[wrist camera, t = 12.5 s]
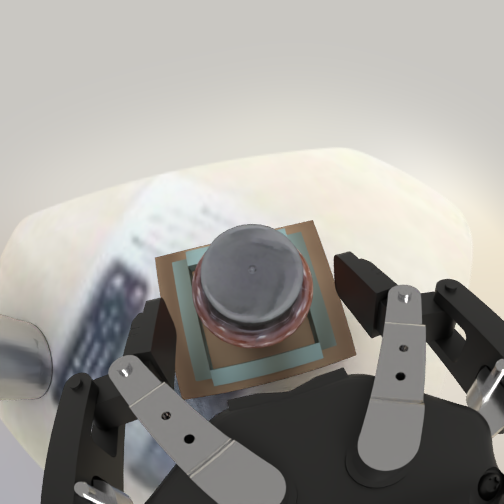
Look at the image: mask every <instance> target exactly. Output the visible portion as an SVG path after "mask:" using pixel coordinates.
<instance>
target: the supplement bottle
mask: <svg viewBox="0 0 504 504" xmlns="http://www.w3.org/2000/svg"><path fill="white" fill-rule="evenodd" d="M192 297H193V303H194V307H195V309H196V312H197V314H198V316H199V318H200V319H201V321H202V323H203V324H204V325H205V326H206V327H207V328H208V330H209V331H210V332H211V333H212V334H214V335H215V336H216V337H218V338H219V339H221V340H222V341H224V342H226V343H228V344H231V345H234V346H237V347H242V348H250V349H254V348H263V347H267V346H271V345H274V344H277V343H279V342H281V341H283V340H284V339H286V338H288V337H289V336H290V335H292V334H293V333H294V332H295V331H296V330H297V329H298V328H299V327H300V325H301V324H302V323H303V321H304V319H305V318H306V316H307V314H308V312H309V309H310V306H311V303H312V298H313V280H312V275H311V272H310V268H309V266H308V264H307V262H306V260H305V258H304V257H303V255H302V254H301V253H300V252H299V250H298V249H297V248H296V247H295V246H294V244H293V243H292V242H291V241H290V240H289V239H288V238H287V237H286V236H285V235H283V234H282V233H281V232H279V231H277V230H275V229H273V228H271V227H268V226H264V225H257V224H247V225H241V226H236V227H234V228H231V229H229V230H227V231H225V232H223V233H222V234H220V235H219V236H218V237H217V238H216V239H215V240H214V241H213V242H212V243H211V244H210V246H209V247H208V249H207V251H206V252H205V253H204V254H203V256H202V257H201V259H200V260H199V262H198V264H197V266H196V269H195V271H194V276H193V279H192Z"/></svg>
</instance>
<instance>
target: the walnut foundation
mask: <svg viewBox="0 0 504 504" xmlns="http://www.w3.org/2000/svg"><path fill="white" fill-rule="evenodd" d="M275 230H277V231H279V232H281V233H282V234H283V235H285V236H286V237H287V238H288V239H289V240H290V241H291V242H292V243H293V244H294V246H295V247H296V248H297V249H298V250H299V252H300V253H301V254H302V255H303V257H304V258H305V260H306V262H307V264H308V266H309V268H310V272H311V275H312V280H313V298H312V303H311V306H310V309H309V312H308V314H307V316H306V318H305V319H304V321H303V323H302V324H301V325H300V327H299V328H298V329H297V330H296V331H295V332H294V333H293V334H292V335H290V336H289V337H288V338H286V339H284V340H283V341H281V342H279V343H277V344H274V345H271V346H267V347H263V348H254V349H250V348H242V347H237V346H234V345H231V344H228V343H226V342H224V341H222V340H221V339H219V338H218V337H216V336H215V335H214V334H212V333H211V332H210V331H209V330H208V328H207V327H206V326H205V325H204V324H203V323H202V321H201V319H200V318H199V316H198V314H197V312H196V309H195V307H194V303H193V297H192V279H193V276H194V271H195V269H196V266H197V264H198V262H199V260H200V259H201V257H202V256H203V254H204V253H205V252H206V251H207V249H208V247H209V246H210V244H209V245H204V246H200V247H196V248H192V249H188V250H184V251H180V252H176V253H172V254H168V255H164V256H160V257H156V258H155V262H156V269H157V277H158V283H159V290H160V296H161V298H163V299H164V301H165V303H166V306H167V308H168V311H169V313H170V315H171V318H172V320H173V322H174V325H175V328H176V333H177V342H176V358H175V372H176V377H177V381H178V385H179V389H180V393H181V396H182V399H183V400H185V399H192V398H198V397H204V396H210V395H216V394H221V393H226V392H231V391H236V390H240V389H245V388H249V387H253V386H258V385H262V384H266V383H270V382H274V381H277V380H281V379H285V378H288V377H292V376H295V375H299V374H302V373H305V372H308V371H312V370H315V369H318V368H321V367H324V366H327V365H330V364H333V363H336V362H339V361H341V360H344V359H347V358H350V357H352V356H355V355H356V351H355V348H354V344H353V340H352V337H351V333H350V330H349V327H348V323H347V320H346V316H345V313H344V310H343V307H342V303H341V300H340V297H339V296H338V294H337V292H336V289H335V282H334V279H333V276H332V273H331V270H330V267H329V264H328V261H327V258H326V255H325V252H324V249H323V247H322V244H321V241H320V238H319V236H318V233H317V230H316V227H315V225H314V222H313V220H311V221H307V222H303V223H298V224H294V225H289V226H285V227H281V228H276V229H275Z"/></svg>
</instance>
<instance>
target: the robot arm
mask: <svg viewBox="0 0 504 504" xmlns="http://www.w3.org/2000/svg"><path fill="white" fill-rule="evenodd" d="M334 280H335V289H336V292H337V294H338V296H339V297H340V299H341V300H342V301H343V302H344V304H345V305H346V306H347V308H348V309H349V310H350V311H351V313H352V314H353V315H354V316H355V318H356V319H357V320H358V322H359V323H360V324H361V325H362V327H363V328H364V329H365V331H366V332H367V333H368V335H369V336H370V337H371V338H374V337H376V336H379V335H381V336H382V337H383V338H382V344H381V349H380V355H379V360H378V365H377V370H376V375H375V376H372V375H365V374H350V375H347V373H346V371H345V369H344V368H340V369H338V370H335V371H332V372H329V373H326V374H323V375H320V376H317V377H315V378H313V379H312V380H310V381H308V382H306V383H305V384H303V385H301V386H299V387H297V388H295V389H294V390H292V391H289V392H280V393H261V394H253V395H249V396H245V397H240V398H235V399H231V400H228V406H229V409H227V410H224V411H222V412H221V413H219V414H217V415H216V416H214V417H213V418H212V419H211V420H209V421H207V420H206V419H205V418H204V417H203V416H201V415H200V414H199V413H198V412H197V411H196V410H194V409H193V408H192V407H191V406H190V405H189V404H188V403H187V402H185V401H184V400H183V399H182V398H181V397H180V396H179V395H178V394H177V393H176V392H175V391H174V379H175V358H176V342H177V333H176V328H175V325H174V322H173V320H172V318H171V315H170V313H169V311H168V308H167V306H166V303H165V301H164V299H163V298H157V299H153V300H148V301H146V304H145V307H144V311H143V313H139V314H138V315H137V316H136V317H135V319H134V320H133V321H132V325H131V328H130V329H131V330H130V332H129V337H128V339H127V342H126V346H125V350H124V354H123V357H120V358H118V359H117V360H116V361H114V362H113V363H112V365H111V366H110V368H109V372H108V375H105V376H103V377H100V378H98V379H95V380H92V378H91V377H90V376H89V375H88V374H86V373H78V374H75V375H73V376H72V377H71V378H69V379H68V381H67V382H66V384H65V386H64V389H63V392H62V395H61V399H60V402H59V406H58V410H57V413H56V417H55V421H54V425H53V429H52V434H51V438H50V443H49V448H48V453H47V458H46V464H45V470H44V478H43V485H42V494H41V504H133V502H132V500H131V498H130V497H129V496H128V495H127V494H125V493H124V489H123V466H124V437H125V424H126V423H129V422H132V421H134V420H137V419H139V421H140V422H141V423H142V424H143V426H144V427H145V428H146V429H147V431H148V432H149V433H150V434H151V436H152V437H153V438H154V439H155V440H156V441H157V443H158V444H159V445H160V446H161V447H162V448H163V449H164V451H165V452H166V453H167V454H168V455H169V456H170V457H171V458H172V459H173V460H174V461H175V462H176V464H175V466H174V467H173V468H172V470H171V471H170V472H169V474H168V475H167V476H166V477H165V479H164V480H163V481H162V483H161V484H160V485H159V486H158V488H157V489H156V490H155V491H154V493H153V494H152V495H151V496H150V497H149V499H148V500H147V501H146V502H145V504H504V474H503V473H502V472H501V471H500V470H499V468H498V466H497V464H496V460H495V457H494V453H493V446H492V438H493V437H494V436H496V435H497V434H503V433H504V321H503V320H502V319H501V318H500V317H499V316H498V315H497V314H496V313H494V312H493V311H492V310H491V309H490V308H489V307H488V306H487V305H485V303H483V302H482V301H481V300H480V299H479V298H478V297H476V296H475V295H474V294H473V293H472V292H471V291H469V290H468V289H467V288H466V287H465V286H463V285H462V284H461V283H460V282H458V281H455V280H452V279H443V280H440V281H439V282H438V283H437V284H436V288H435V292H428V293H420V292H419V290H418V289H416V288H415V287H412V286H409V285H397V284H396V283H395V282H394V281H393V280H391V279H390V278H389V277H388V276H387V275H386V274H384V273H382V271H381V270H380V269H379V268H377V267H376V266H375V265H374V264H373V263H371V262H369V261H367V260H364V259H358V258H357V257H356V256H355V255H354V254H353V253H351V252H345V253H342V254H338V255H335V256H334ZM456 323H457V324H458V325H459V326H460V327H461V328H462V329H463V330H464V331H465V334H466V340H464V338H463V337H462V336H461V335H460V334H459V333H458V332H457V331H456V330H455V329H454V328H455V325H456ZM426 342H427V343H428V344H429V346H430V347H431V348H432V349H433V351H434V352H435V353H436V354H437V356H438V357H439V358H440V360H441V361H442V362H443V363H444V365H445V366H446V367H447V369H448V370H449V371H450V372H451V374H452V375H453V376H454V378H455V379H456V381H457V382H458V383H459V385H460V386H461V387H462V389H463V390H464V391H465V393H466V394H467V396H466V402H467V405H468V407H467V406H463V405H459V404H456V403H453V402H450V401H447V400H443V399H440V398H437V397H434V396H431V395H428V394H425V393H424V382H425V362H426ZM51 375H52V363H51V356H50V351H49V348H48V345H47V342H46V340H45V338H44V336H43V334H42V333H41V331H40V330H39V329H38V328H37V327H36V326H35V325H33V324H31V323H28V322H25V321H21V320H17V319H14V318H10V317H7V316H4V315H1V314H0V400H27V399H37V398H40V397H41V396H43V395H44V394H45V392H46V391H47V390H48V387H49V385H50V381H51ZM92 423H93V426H92ZM91 429H92V433H91Z"/></svg>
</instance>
